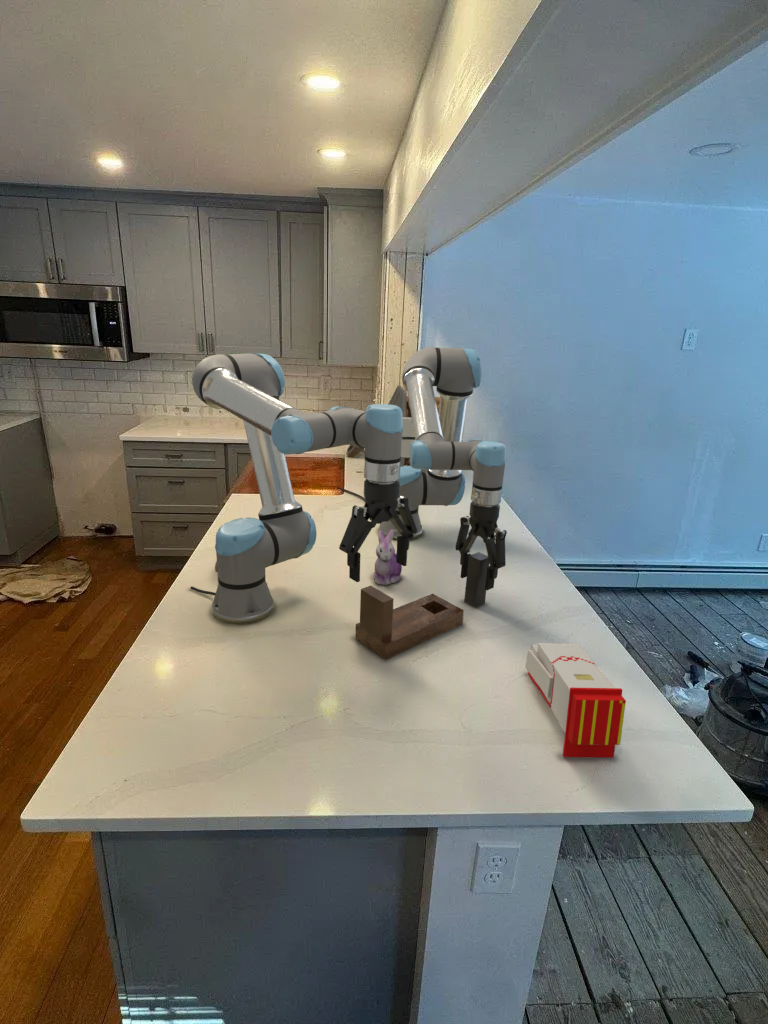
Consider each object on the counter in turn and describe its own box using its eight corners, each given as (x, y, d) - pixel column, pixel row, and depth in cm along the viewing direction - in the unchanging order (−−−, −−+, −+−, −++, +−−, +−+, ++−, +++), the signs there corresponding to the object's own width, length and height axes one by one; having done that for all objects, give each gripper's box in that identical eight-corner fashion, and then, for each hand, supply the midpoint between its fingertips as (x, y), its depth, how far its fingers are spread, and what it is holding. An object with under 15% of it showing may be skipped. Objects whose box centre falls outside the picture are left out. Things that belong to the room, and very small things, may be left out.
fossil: (346, 440, 316) (367, 425, 311) (357, 453, 319) (378, 438, 314) (340, 453, 296) (362, 438, 291) (351, 468, 299) (374, 452, 294)
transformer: (382, 463, 289) (386, 382, 275) (445, 464, 293) (451, 384, 279) (390, 482, 257) (394, 392, 243) (460, 483, 261) (468, 394, 247)
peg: (464, 602, 155) (468, 555, 150) (473, 597, 158) (478, 551, 153) (475, 608, 152) (480, 560, 148) (484, 603, 155) (490, 556, 150)
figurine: (380, 588, 160) (382, 539, 155) (365, 573, 168) (366, 527, 163) (409, 582, 164) (412, 535, 159) (392, 568, 173) (395, 522, 167)
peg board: (355, 638, 136) (356, 586, 131) (431, 606, 152) (435, 559, 147) (385, 660, 128) (387, 605, 123) (462, 624, 144) (467, 574, 139)
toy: (573, 626, 127) (635, 696, 97) (567, 680, 129) (626, 765, 100) (519, 624, 126) (566, 695, 97) (515, 680, 129) (558, 764, 100)
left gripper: (345, 494, 108) (343, 593, 116) (436, 474, 124) (430, 563, 131) (322, 484, 114) (322, 580, 121) (412, 467, 129) (408, 552, 136)
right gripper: (445, 494, 150) (439, 572, 158) (509, 517, 135) (498, 601, 143) (464, 489, 155) (457, 565, 162) (527, 511, 140) (516, 593, 148)
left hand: (378, 571), depth 126 cm, fingers open, 13 cm apart
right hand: (476, 582), depth 153 cm, fingers open, 8 cm apart
